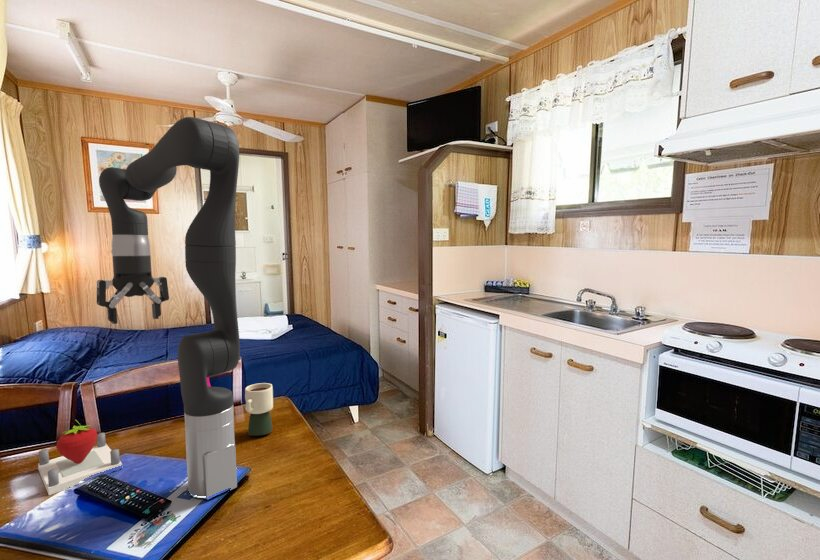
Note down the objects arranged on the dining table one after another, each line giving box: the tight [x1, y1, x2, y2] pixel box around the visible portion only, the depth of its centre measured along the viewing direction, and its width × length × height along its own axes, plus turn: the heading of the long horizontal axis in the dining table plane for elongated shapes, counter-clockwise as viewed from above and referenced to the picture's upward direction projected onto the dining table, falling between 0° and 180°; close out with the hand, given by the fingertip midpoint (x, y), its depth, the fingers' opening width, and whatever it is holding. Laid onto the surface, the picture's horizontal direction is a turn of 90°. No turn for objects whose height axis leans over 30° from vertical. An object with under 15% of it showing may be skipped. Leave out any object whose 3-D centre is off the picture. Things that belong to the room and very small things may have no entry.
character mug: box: [244, 382, 274, 437], centre depth 108 cm, size 11×7×13 cm, turn 169°
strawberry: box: [55, 419, 98, 463], centre depth 90 cm, size 6×8×10 cm
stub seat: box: [37, 432, 123, 496], centre depth 90 cm, size 15×13×4 cm
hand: (135, 320), depth 96 cm, fingers open, 8 cm apart
